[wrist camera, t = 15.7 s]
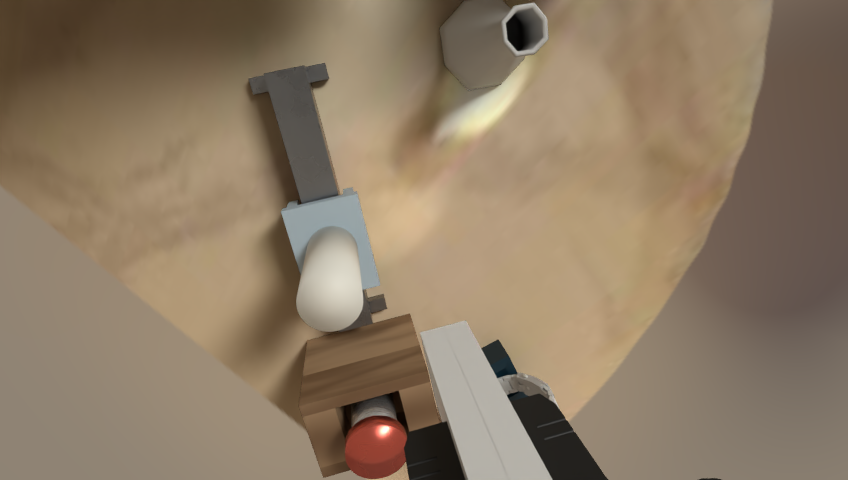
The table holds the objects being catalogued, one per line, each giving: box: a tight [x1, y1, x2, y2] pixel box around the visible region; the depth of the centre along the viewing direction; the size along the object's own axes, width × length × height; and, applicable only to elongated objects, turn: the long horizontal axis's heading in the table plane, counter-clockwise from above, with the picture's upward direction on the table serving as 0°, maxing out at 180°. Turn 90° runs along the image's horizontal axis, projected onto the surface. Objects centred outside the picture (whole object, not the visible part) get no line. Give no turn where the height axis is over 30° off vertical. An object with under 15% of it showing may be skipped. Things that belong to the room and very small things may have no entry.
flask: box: [440, 0, 548, 90], centre depth 35 cm, size 7×7×10 cm
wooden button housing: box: [299, 314, 440, 477], centre depth 42 cm, size 7×10×10 cm
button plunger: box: [345, 393, 407, 479], centre depth 37 cm, size 5×5×6 cm
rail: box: [249, 63, 387, 332], centre depth 40 cm, size 22×6×3 cm, turn 11°
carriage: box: [281, 187, 380, 332], centre depth 35 cm, size 8×6×13 cm
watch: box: [481, 340, 560, 410], centre depth 44 cm, size 6×8×11 cm
